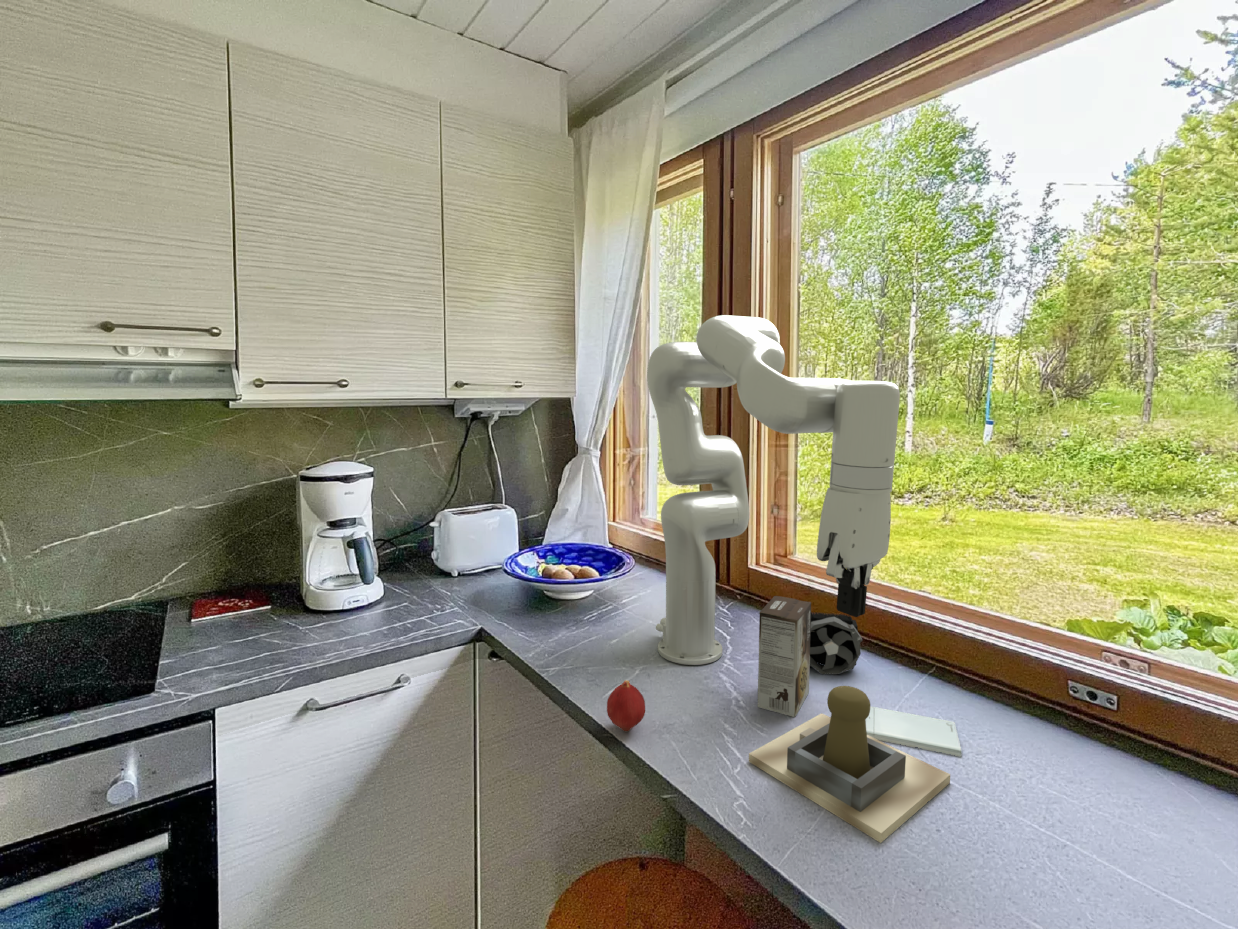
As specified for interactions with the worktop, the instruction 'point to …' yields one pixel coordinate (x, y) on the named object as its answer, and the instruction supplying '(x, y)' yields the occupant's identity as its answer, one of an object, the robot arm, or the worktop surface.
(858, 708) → the cork
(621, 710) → the onion
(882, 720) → the hard drive
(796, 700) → the coffee box
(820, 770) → the board
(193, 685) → the worktop surface
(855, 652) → the cpu cooler
